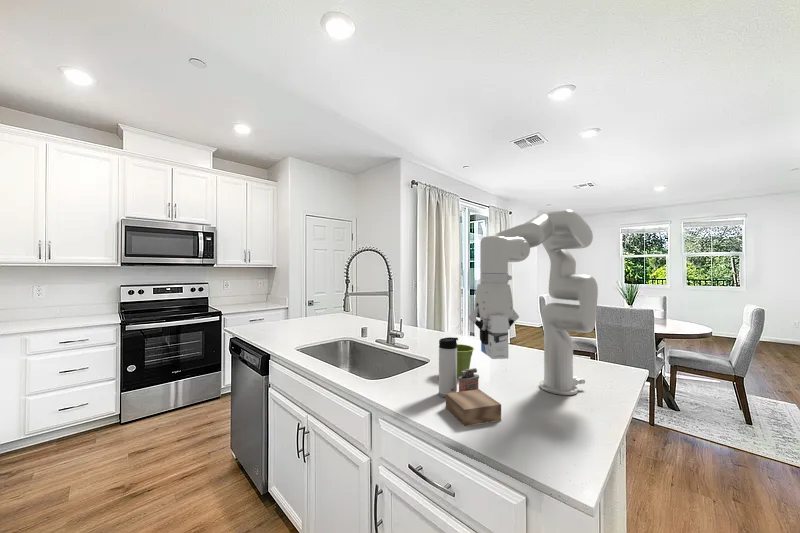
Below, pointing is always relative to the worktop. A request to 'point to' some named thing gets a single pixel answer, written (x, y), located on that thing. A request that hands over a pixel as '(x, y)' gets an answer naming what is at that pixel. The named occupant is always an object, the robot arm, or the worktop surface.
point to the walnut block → (473, 407)
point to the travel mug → (447, 366)
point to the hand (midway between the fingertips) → (494, 342)
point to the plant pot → (463, 358)
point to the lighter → (468, 380)
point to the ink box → (497, 337)
